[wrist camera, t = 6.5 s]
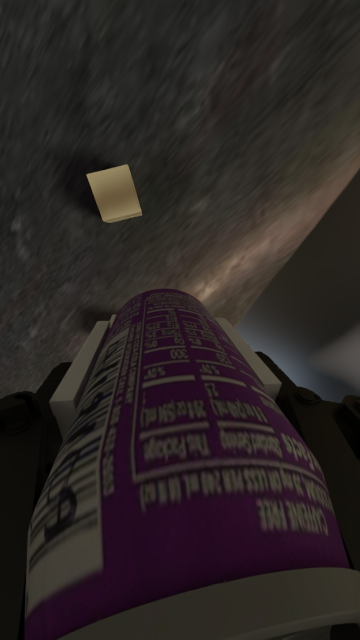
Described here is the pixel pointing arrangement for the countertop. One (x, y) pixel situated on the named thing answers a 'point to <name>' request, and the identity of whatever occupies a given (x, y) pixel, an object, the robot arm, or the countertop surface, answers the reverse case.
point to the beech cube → (115, 193)
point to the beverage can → (183, 499)
